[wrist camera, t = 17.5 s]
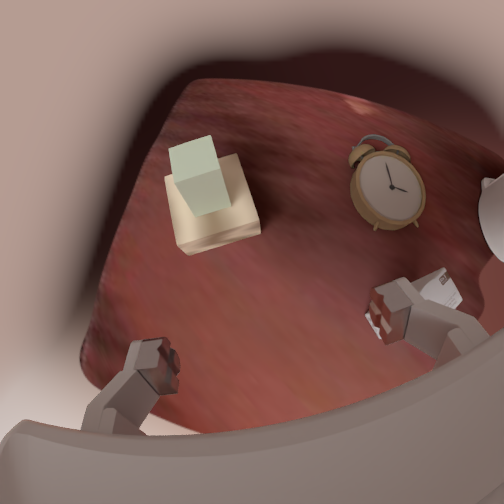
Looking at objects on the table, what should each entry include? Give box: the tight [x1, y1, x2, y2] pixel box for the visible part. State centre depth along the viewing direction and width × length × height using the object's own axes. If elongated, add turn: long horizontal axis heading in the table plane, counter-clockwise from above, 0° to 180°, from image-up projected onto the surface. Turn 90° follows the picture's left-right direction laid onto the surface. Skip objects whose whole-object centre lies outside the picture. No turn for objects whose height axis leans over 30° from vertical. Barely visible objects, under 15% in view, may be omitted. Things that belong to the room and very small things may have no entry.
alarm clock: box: [348, 134, 426, 231], centre depth 35 cm, size 11×5×15 cm
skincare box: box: [365, 268, 462, 339], centre depth 26 cm, size 6×4×12 cm
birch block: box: [165, 153, 261, 256], centre depth 35 cm, size 10×10×5 cm
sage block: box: [169, 135, 231, 217], centre depth 29 cm, size 4×4×8 cm
